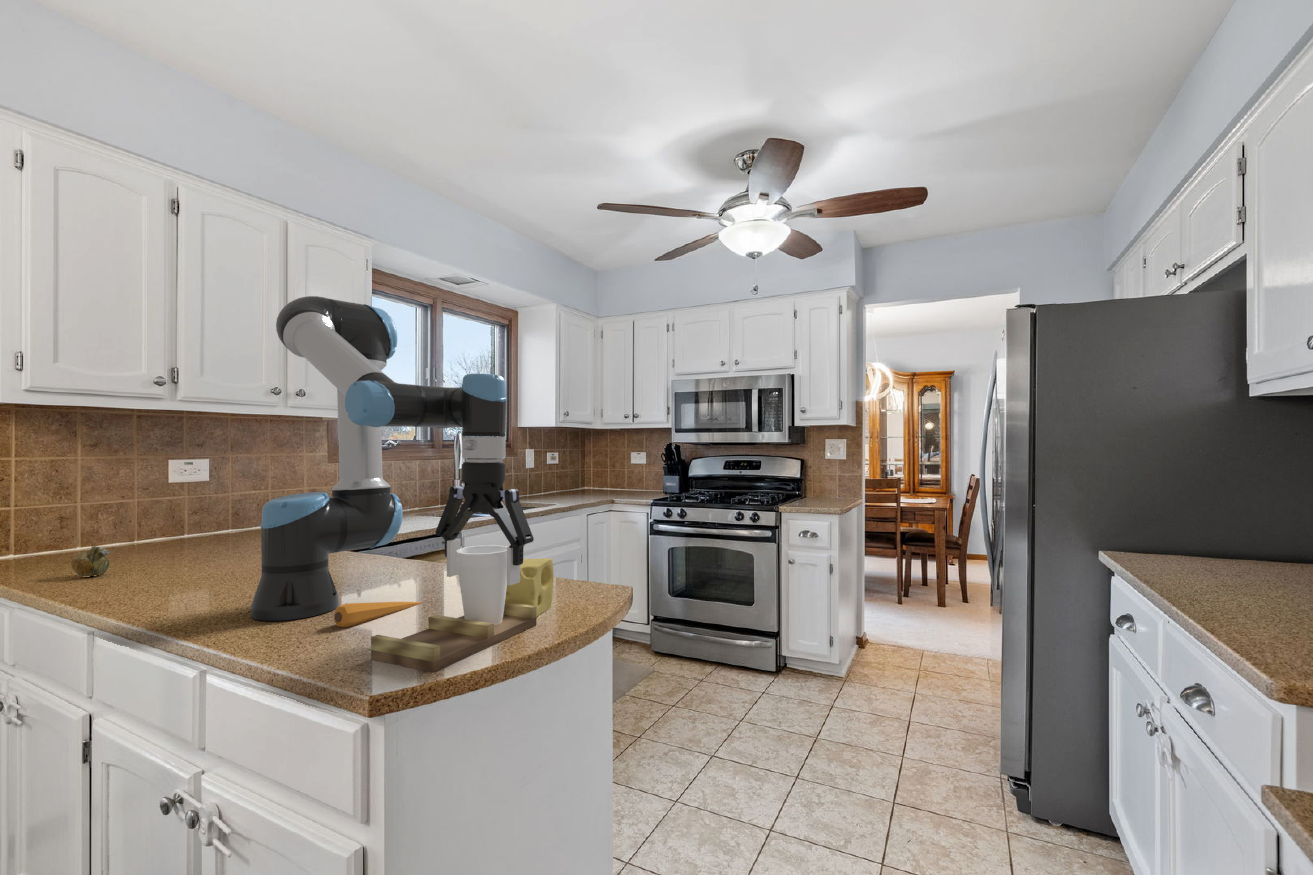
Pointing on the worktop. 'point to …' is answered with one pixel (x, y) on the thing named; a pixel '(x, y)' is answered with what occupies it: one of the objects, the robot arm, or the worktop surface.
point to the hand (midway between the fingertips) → (482, 579)
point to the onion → (91, 562)
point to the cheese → (533, 585)
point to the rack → (451, 639)
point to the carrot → (366, 611)
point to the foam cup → (483, 582)
